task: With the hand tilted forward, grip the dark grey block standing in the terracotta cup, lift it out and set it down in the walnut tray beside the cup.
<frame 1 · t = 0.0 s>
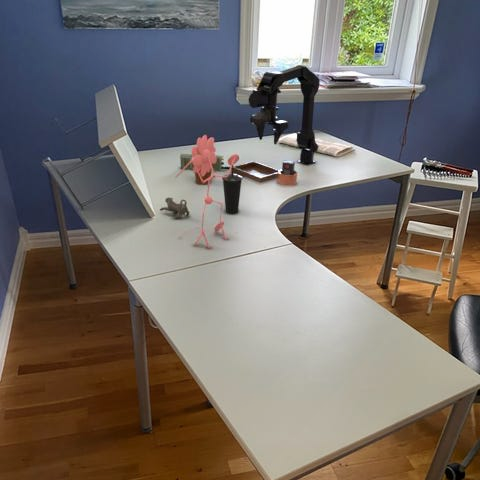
hand: (267, 142, 220), 15 cm above the table, tool pointing down, fingers open, 9 cm apart
dog figurine: (175, 215, 188), on the table
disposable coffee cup: (203, 182, 218), on the table
drinking cup: (231, 212, 192), on the table
handheld radio: (207, 170, 232), on the table
holder cup: (287, 183, 219), on the table, touching dark grey block
figurine: (203, 238, 172), on the table
dark grey block: (287, 182, 219), resting on holder cup
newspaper: (315, 146, 267), on the table
tray: (256, 174, 227), on the table
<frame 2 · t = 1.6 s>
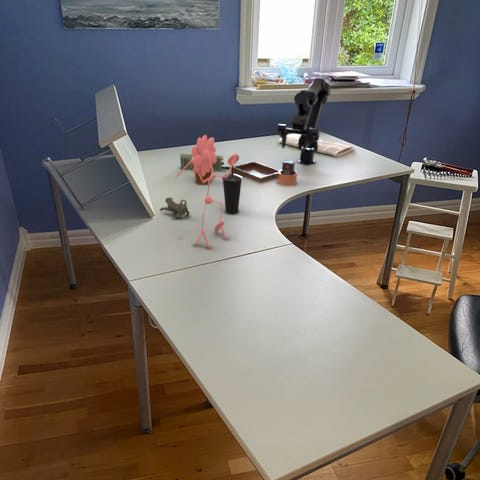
hand: (292, 149, 216), 13 cm above the table, tool tilted 45°, fingers open, 9 cm apart
nothing on the table moved.
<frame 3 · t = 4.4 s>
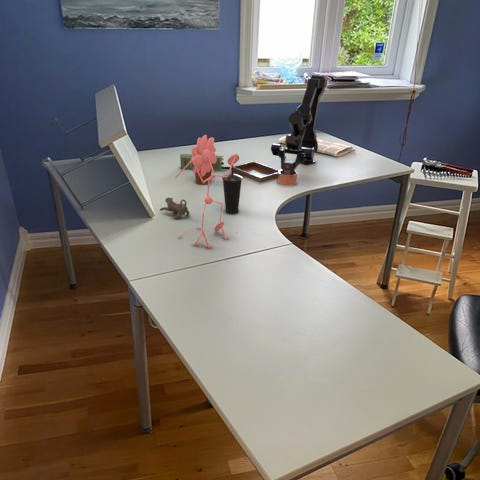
hand: (287, 169, 214), 7 cm above the table, tool tilted 45°, fingers closed on dark grey block, 5 cm apart
dark grey block: (287, 182, 219), resting on holder cup, touching gripper
everything else where it was.
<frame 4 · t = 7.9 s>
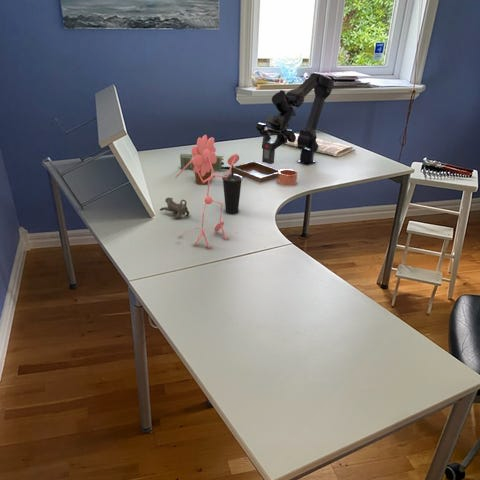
hand: (266, 149, 215), 13 cm above the table, tool tilted 45°, fingers closed on dark grey block, 5 cm apart
holder cup: (287, 183, 219), on the table
dark grey block: (268, 162, 219), point 7 cm above the table, touching gripper
everything else where it was.
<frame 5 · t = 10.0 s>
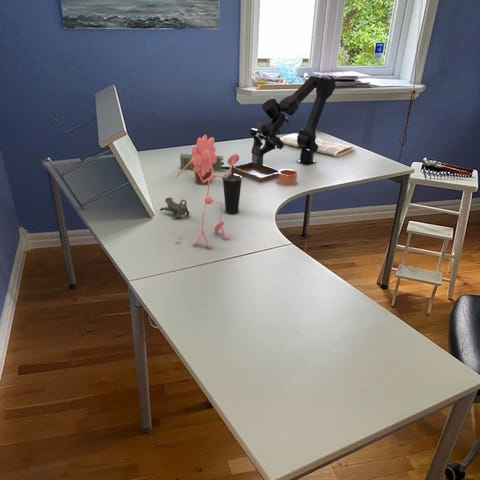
hand: (255, 154, 221), 10 cm above the table, tool tilted 45°, fingers closed on dark grey block, 5 cm apart
dark grey block: (257, 167, 225), point 4 cm above the table, touching gripper
everything else where it was.
when the fingers open (7 cm above the table, at t = 11.4 s): dark grey block stays where it is, resting on tray.
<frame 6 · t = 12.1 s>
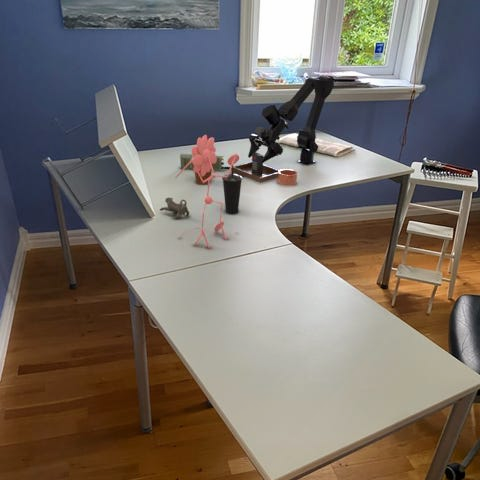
hand: (255, 159, 223), 7 cm above the table, tool tilted 45°, fingers open, 9 cm apart
dark grey block: (256, 173, 227), resting on tray
everything else where it was.
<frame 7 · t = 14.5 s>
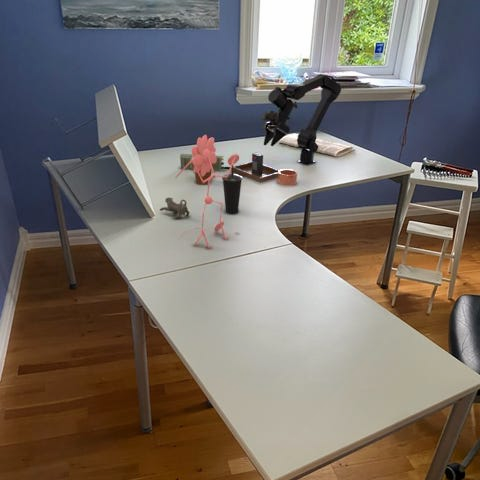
hand: (267, 145, 223), 12 cm above the table, tool tilted 35°, fingers open, 9 cm apart
nothing on the table moved.
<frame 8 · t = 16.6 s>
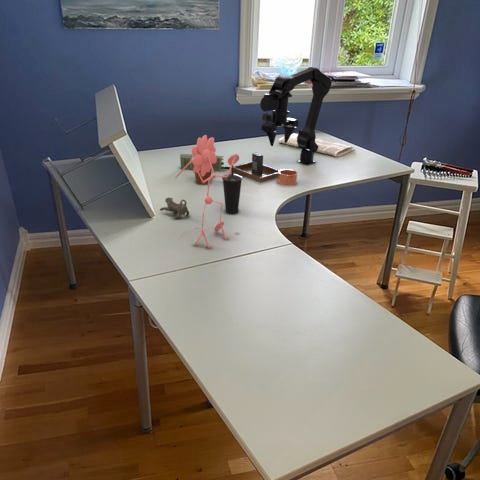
hand: (278, 144, 227), 12 cm above the table, tool pointing down, fingers open, 9 cm apart
nothing on the table moved.
at the end: dark grey block inside the target area in the tray (0.0 cm from its centre), point 0.5 cm above the tray's base; the gripper is holding nothing; holder cup tilted 0° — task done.
